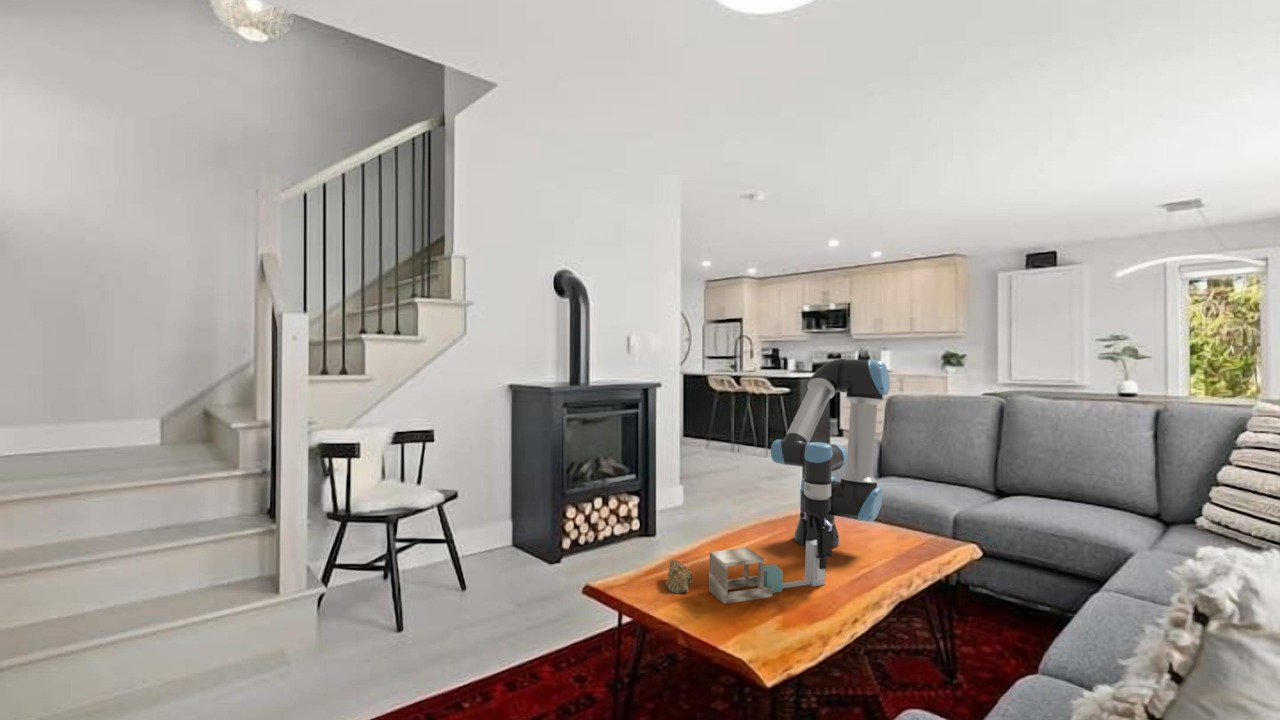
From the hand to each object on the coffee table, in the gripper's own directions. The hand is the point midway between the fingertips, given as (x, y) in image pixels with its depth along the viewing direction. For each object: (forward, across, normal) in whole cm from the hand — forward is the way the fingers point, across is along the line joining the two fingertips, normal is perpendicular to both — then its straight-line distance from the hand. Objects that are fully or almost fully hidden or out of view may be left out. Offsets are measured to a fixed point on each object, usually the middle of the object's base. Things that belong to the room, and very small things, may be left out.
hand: (815, 575), depth 179 cm
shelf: (+2, 0, -25) cm, 25 cm away
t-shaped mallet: (+2, 0, -8) cm, 8 cm away
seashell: (+2, -11, -39) cm, 41 cm away
